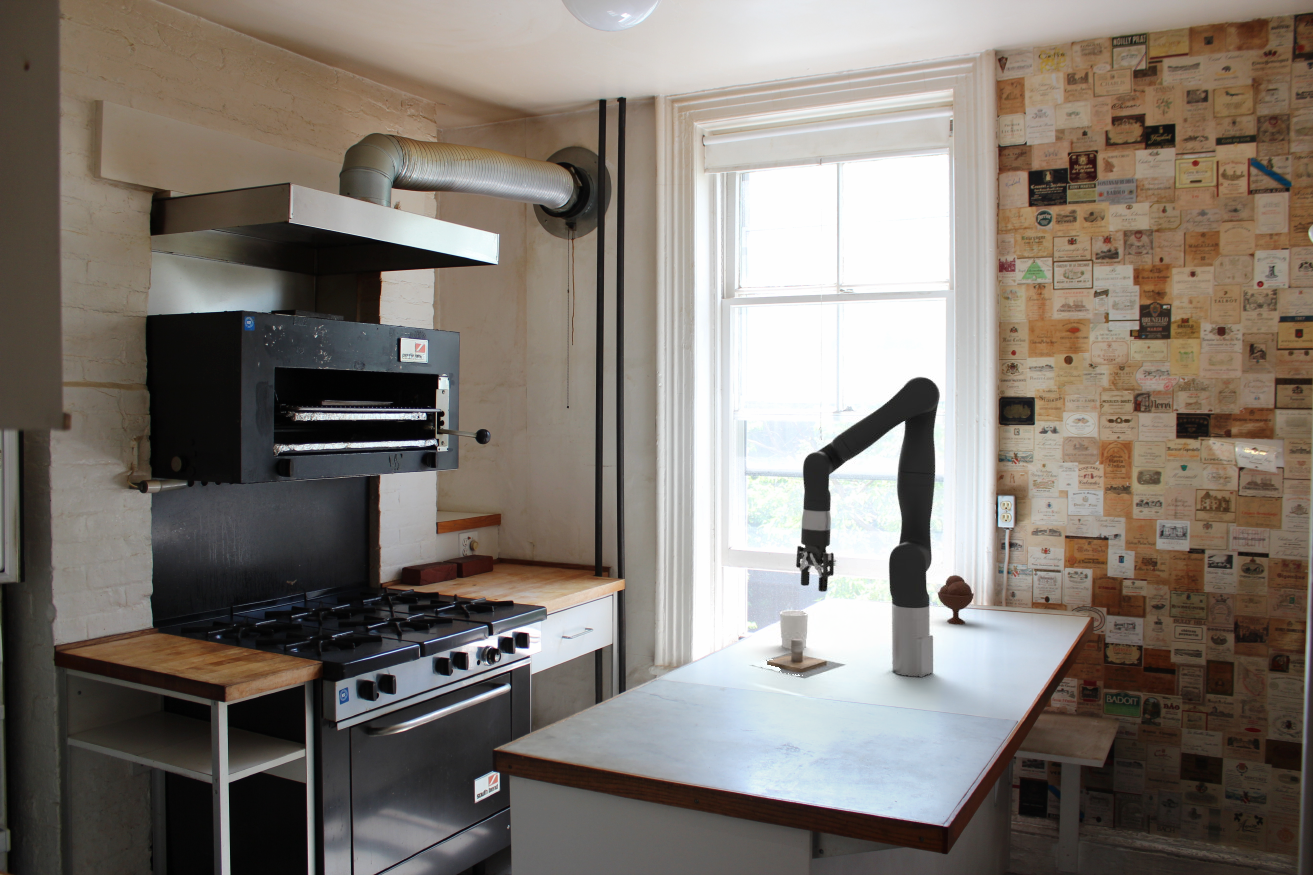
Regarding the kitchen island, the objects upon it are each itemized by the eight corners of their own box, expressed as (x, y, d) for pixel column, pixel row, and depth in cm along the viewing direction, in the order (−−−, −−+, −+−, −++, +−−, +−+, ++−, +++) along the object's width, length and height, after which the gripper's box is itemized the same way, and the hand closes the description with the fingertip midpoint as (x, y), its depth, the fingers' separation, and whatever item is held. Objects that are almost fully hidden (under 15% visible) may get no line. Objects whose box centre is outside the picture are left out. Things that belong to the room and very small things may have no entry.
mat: (845, 666, 231) (845, 664, 231) (804, 679, 219) (804, 677, 219) (790, 654, 244) (790, 652, 244) (748, 666, 232) (748, 664, 232)
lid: (826, 664, 232) (826, 639, 232) (801, 672, 224) (801, 647, 224) (792, 657, 239) (792, 633, 239) (767, 664, 232) (767, 639, 232)
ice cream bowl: (930, 620, 286) (930, 574, 286) (957, 617, 291) (956, 572, 291) (954, 627, 277) (954, 579, 277) (981, 623, 281) (981, 576, 281)
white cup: (799, 652, 247) (799, 616, 247) (775, 648, 251) (774, 613, 251) (812, 646, 253) (812, 612, 253) (788, 643, 258) (788, 608, 258)
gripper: (843, 530, 228) (841, 592, 228) (813, 523, 241) (810, 582, 241) (818, 530, 225) (816, 594, 225) (789, 524, 238) (787, 583, 238)
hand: (813, 588), depth 233 cm, fingers open, 8 cm apart
